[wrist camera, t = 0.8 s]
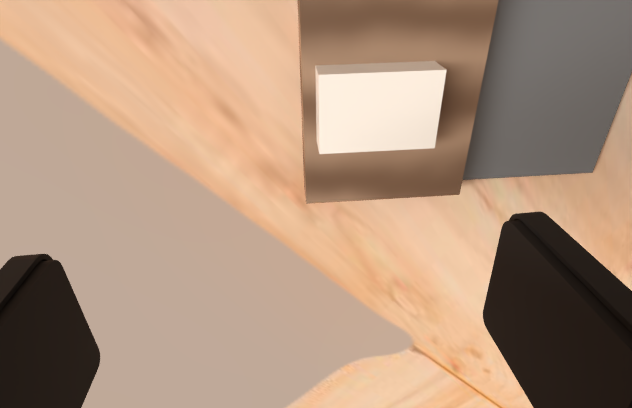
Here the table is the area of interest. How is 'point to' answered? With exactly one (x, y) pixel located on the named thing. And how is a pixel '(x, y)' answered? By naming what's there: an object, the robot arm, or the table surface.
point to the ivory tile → (378, 106)
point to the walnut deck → (389, 47)
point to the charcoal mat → (550, 87)
